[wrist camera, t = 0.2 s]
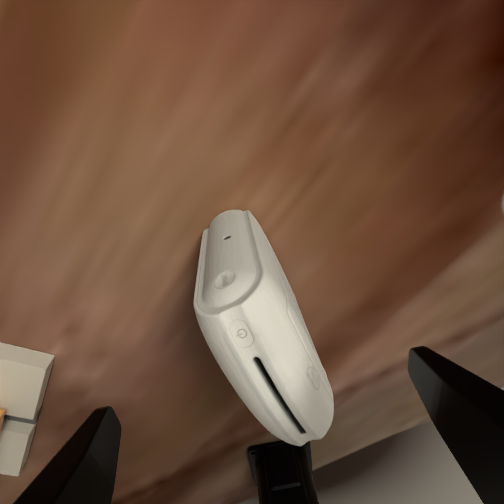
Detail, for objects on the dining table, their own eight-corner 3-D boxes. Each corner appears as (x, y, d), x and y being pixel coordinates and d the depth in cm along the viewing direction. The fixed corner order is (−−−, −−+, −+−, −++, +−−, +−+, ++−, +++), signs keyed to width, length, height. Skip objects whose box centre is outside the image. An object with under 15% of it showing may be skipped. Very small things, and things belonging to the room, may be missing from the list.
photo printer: (193, 223, 23) (171, 340, 11) (248, 196, 22) (280, 291, 11) (254, 325, 27) (280, 482, 16) (300, 305, 27) (361, 451, 15)
